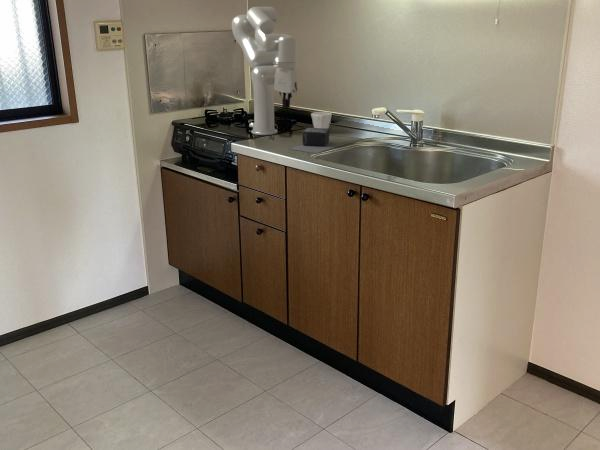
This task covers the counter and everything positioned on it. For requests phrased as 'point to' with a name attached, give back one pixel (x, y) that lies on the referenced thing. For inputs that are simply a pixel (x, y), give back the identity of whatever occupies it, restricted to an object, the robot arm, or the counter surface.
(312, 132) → the small box
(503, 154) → the counter surface
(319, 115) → the cup
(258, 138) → the counter surface
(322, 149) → the mat
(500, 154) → the counter surface
